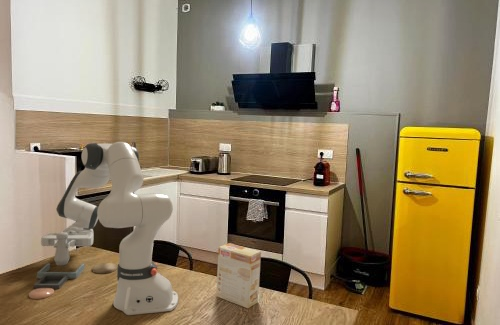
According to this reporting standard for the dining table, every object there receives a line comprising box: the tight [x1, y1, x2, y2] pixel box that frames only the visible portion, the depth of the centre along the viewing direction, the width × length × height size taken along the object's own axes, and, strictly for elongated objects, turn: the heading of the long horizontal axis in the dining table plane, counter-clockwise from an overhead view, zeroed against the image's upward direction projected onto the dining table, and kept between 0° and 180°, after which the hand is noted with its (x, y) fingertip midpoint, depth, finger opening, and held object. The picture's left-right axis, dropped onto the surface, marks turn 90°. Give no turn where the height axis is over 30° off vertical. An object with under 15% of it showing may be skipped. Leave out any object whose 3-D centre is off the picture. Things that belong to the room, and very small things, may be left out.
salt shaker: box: [53, 231, 71, 266], centre depth 151 cm, size 6×6×13 cm
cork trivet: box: [92, 262, 118, 274], centre depth 159 cm, size 10×10×1 cm
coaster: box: [28, 288, 55, 300], centre depth 134 cm, size 8×8×1 cm
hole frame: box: [33, 275, 69, 290], centre depth 143 cm, size 9×9×2 cm
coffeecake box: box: [215, 242, 262, 309], centre depth 138 cm, size 15×7×20 cm, turn 56°
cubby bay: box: [36, 263, 85, 279], centre depth 152 cm, size 10×15×2 cm, turn 97°
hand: (61, 245), depth 150 cm, fingers closed on salt shaker, 3 cm apart
